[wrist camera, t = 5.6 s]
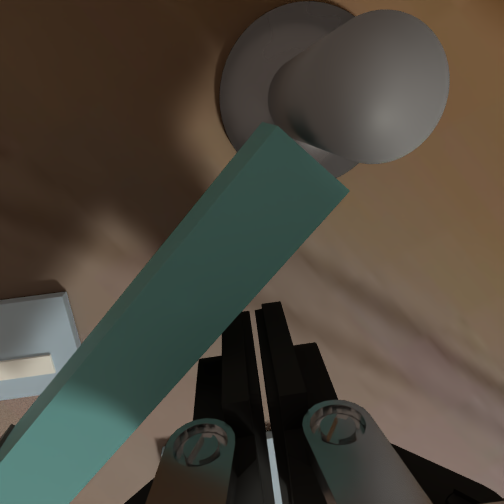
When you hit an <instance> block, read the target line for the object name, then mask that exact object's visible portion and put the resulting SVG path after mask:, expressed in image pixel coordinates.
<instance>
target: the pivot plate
mask: <svg viewBox="0 0 504 504" xmlns="http://www.w3.org/2000/svg"><path fill="white" fill-rule="evenodd" d="M354 17H355V16H353V15H352V14H350V13H349V12H347V11H346V10H343V9H341V8H339V7H337V6H334V5H330V4H327V3H322V2H314V1H303V2H295V3H290V4H286V5H283V6H280V7H277V8H275V9H273V10H271V11H269V12H267V13H265V14H264V15H263V16H261V17H260V18H258V19H257V20H255V21H254V22H253V23H252V24H251V25H250V26H249V27H248V28H247V29H246V30H245V31H244V32H243V34H242V35H241V36H240V37H239V38H238V40H237V42H236V43H235V45H234V46H233V48H232V50H231V52H230V54H229V56H228V58H227V60H226V63H225V67H224V70H223V73H222V78H221V84H220V111H221V116H222V121H223V124H224V127H225V130H226V133H227V135H228V137H229V139H230V142H231V143H232V145H233V147H234V148H235V150H236V151H237V152H238V151H239V150H240V148H241V147H242V146H243V145H244V144H245V142H246V141H247V140H248V139H249V137H250V136H251V135H252V134H253V132H254V131H255V130H256V129H257V128H258V126H259V125H260V124H261V123H262V122H265V123H269V124H273V125H275V123H274V122H273V120H272V118H271V115H270V112H269V107H268V92H269V87H270V84H271V81H272V79H273V77H274V75H275V74H276V73H277V71H278V70H279V69H280V68H281V67H282V66H283V65H284V64H285V63H286V62H288V61H289V60H291V59H292V58H294V57H295V56H297V55H298V54H300V53H301V52H302V51H304V50H305V49H307V48H308V47H310V46H311V45H313V44H314V43H316V42H317V41H319V40H320V39H322V38H323V37H325V36H326V35H328V34H329V33H331V32H332V31H334V30H335V29H337V28H338V27H340V26H341V25H343V24H344V23H346V22H347V21H349V20H350V19H352V18H354ZM293 140H294V141H295V142H296V143H297V144H298V145H300V146H301V147H302V148H303V149H304V150H305V151H306V152H307V153H308V154H309V155H311V156H312V157H313V158H314V159H315V160H316V161H317V162H318V163H319V164H321V165H322V166H323V167H324V168H325V169H326V170H327V171H328V172H329V173H330V174H332V175H333V176H334V177H335V178H337V177H339V176H341V175H343V174H345V173H346V172H348V171H349V170H351V169H352V168H353V167H355V166H356V165H357V164H358V163H359V162H355V161H352V160H349V159H346V158H344V157H341V156H338V155H335V154H333V153H330V152H327V151H325V150H322V149H319V148H317V147H314V146H311V145H308V144H306V143H303V142H300V141H298V140H295V139H293Z"/></svg>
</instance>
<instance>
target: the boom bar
mask: <svg viewBox="0 0 504 504" xmlns="http://www.w3.org/2000/svg"><path fill="white" fill-rule="evenodd" d="M448 92H449V67H448V62H447V58H446V55H445V52H444V49H443V47H442V45H441V43H440V41H439V40H438V38H437V37H436V35H435V34H434V33H433V31H432V30H431V29H430V28H429V27H428V26H427V25H426V24H425V23H423V22H422V21H420V20H419V19H418V18H416V17H414V16H412V15H410V14H407V13H404V12H401V11H396V10H376V11H370V12H367V13H363V14H361V15H358V16H356V17H354V18H352V19H350V20H349V21H347V22H346V23H344V24H343V25H341V26H340V27H338V28H337V29H335V30H334V31H332V32H331V33H329V34H328V35H326V36H325V37H323V38H322V39H320V40H319V41H317V42H316V43H314V44H313V45H311V46H310V47H308V48H307V49H305V50H304V51H302V52H301V53H300V54H298V55H297V56H295V57H294V58H292V59H291V60H289V61H288V62H286V63H285V64H284V65H283V66H282V67H281V68H280V69H279V70H278V71H277V73H276V74H275V75H274V77H273V79H272V81H271V84H270V87H269V92H268V107H269V112H270V115H271V118H272V120H273V122H274V123H275V125H273V124H269V123H265V122H262V123H261V124H260V125H259V126H258V128H257V129H256V130H255V131H254V132H253V134H252V135H251V136H250V137H249V139H248V140H247V141H246V142H245V144H244V145H243V146H242V147H241V148H240V150H239V151H238V152H237V153H236V155H235V156H234V157H233V158H232V160H231V161H230V162H229V163H228V164H227V166H226V167H225V168H224V169H223V171H222V172H221V173H220V174H219V176H218V177H217V178H216V179H215V180H214V182H213V183H212V184H211V185H210V187H209V188H208V189H207V190H206V192H205V193H204V194H203V195H202V196H201V198H200V199H199V200H198V201H197V203H196V204H195V205H194V206H193V208H192V209H191V210H190V211H189V212H188V214H187V215H186V216H185V217H184V219H183V220H182V221H181V222H180V224H179V225H178V226H177V227H176V228H175V230H174V231H173V232H172V233H171V235H170V236H169V237H168V238H167V240H166V241H165V242H164V243H163V244H162V246H161V247H160V248H159V249H158V251H157V252H156V253H155V254H154V256H153V257H152V258H151V259H150V260H149V262H148V263H147V264H146V265H145V267H144V268H143V269H142V270H141V272H140V273H139V274H138V275H137V276H136V278H135V279H134V280H133V281H132V283H131V284H130V285H129V286H128V288H127V289H126V290H125V291H124V292H123V294H122V295H121V296H120V297H119V299H118V300H117V301H116V302H115V304H114V305H113V306H112V307H111V308H110V310H109V311H108V312H107V313H106V315H105V316H104V317H103V318H102V320H101V321H100V322H99V323H98V324H97V326H96V327H95V328H94V329H93V331H92V332H91V333H90V334H89V336H88V337H87V338H86V339H85V340H84V342H83V343H82V344H81V345H80V347H79V348H78V349H77V350H76V352H75V353H74V354H73V355H72V356H71V358H70V359H69V360H68V361H67V363H66V364H65V365H64V366H63V368H62V369H61V370H60V371H59V372H58V374H57V375H56V376H55V377H54V379H53V380H52V381H51V382H50V384H49V385H48V386H47V387H46V388H45V390H44V391H43V392H42V393H41V395H40V396H39V397H38V398H37V400H36V401H35V402H34V403H33V404H32V406H31V407H30V408H29V409H28V411H27V412H26V413H25V414H24V416H23V417H22V418H21V419H20V420H19V422H18V423H17V424H16V425H13V424H11V425H10V427H9V428H8V429H7V430H6V432H5V433H4V434H3V435H2V436H1V438H0V504H69V503H70V502H71V501H72V500H73V499H74V498H75V496H76V495H77V494H78V493H79V492H80V491H81V490H82V489H83V488H84V486H85V485H86V484H87V483H88V482H89V481H90V480H91V479H92V478H93V476H94V475H95V474H96V473H97V472H98V471H99V470H100V469H101V468H102V466H103V465H104V464H105V463H106V462H107V461H108V460H109V459H110V457H111V456H112V455H113V454H114V453H115V452H116V451H117V450H118V449H119V447H120V446H121V445H122V444H123V443H124V442H125V441H126V440H127V439H128V437H129V436H130V435H131V434H132V433H133V432H134V431H135V430H136V429H137V427H138V426H139V425H140V424H141V423H142V422H143V421H144V420H145V419H146V417H147V416H148V415H149V414H150V413H151V412H152V411H153V410H154V408H155V407H156V406H157V405H158V404H159V403H160V402H161V401H162V400H163V398H164V397H165V396H166V395H167V394H168V393H169V392H170V391H171V390H172V388H173V387H174V386H175V385H176V384H177V383H178V382H179V381H180V380H181V378H182V377H183V376H184V375H185V374H186V373H187V372H188V371H189V369H190V368H191V367H192V366H193V365H194V364H195V363H196V362H197V361H198V359H199V358H200V357H201V356H202V355H203V354H204V353H205V352H206V351H207V349H208V348H209V347H210V346H211V345H212V344H213V343H214V342H215V341H216V339H217V338H218V337H219V336H220V335H221V334H222V333H223V332H224V331H225V329H226V328H227V327H228V326H229V325H230V324H231V323H232V322H233V320H234V319H235V318H236V317H237V316H238V315H239V314H240V313H241V312H242V310H243V309H244V308H245V307H246V306H247V305H248V304H249V303H250V302H251V300H252V299H253V298H254V297H255V296H256V295H257V294H258V293H259V292H260V290H261V289H262V288H263V287H264V286H265V285H266V284H267V283H268V282H269V280H270V279H271V278H272V277H273V276H274V275H275V274H276V273H277V271H278V270H279V269H280V268H281V267H282V266H283V265H284V264H285V263H286V261H287V260H288V259H289V258H290V257H291V256H292V255H293V254H294V253H295V251H296V250H297V249H298V248H299V247H300V246H301V245H302V244H303V243H304V241H305V240H306V239H307V238H308V237H309V236H310V235H311V234H312V233H313V231H314V230H315V229H316V228H317V227H318V226H319V225H320V224H321V222H322V221H323V220H324V219H325V218H326V217H327V216H328V215H329V214H330V212H331V211H332V210H333V209H334V208H335V207H336V206H337V205H338V204H339V202H340V201H341V200H342V199H343V198H344V197H345V196H346V195H347V194H348V192H349V190H348V189H347V188H346V187H345V186H344V185H343V184H342V183H340V182H339V181H338V180H337V179H336V178H335V177H334V176H333V175H332V174H330V173H329V172H328V171H327V170H326V169H325V168H324V167H323V166H322V165H321V164H319V163H318V162H317V161H316V160H315V159H314V158H313V157H312V156H311V155H309V154H308V153H307V152H306V151H305V150H304V149H303V148H302V147H301V146H300V145H298V144H297V143H296V142H295V141H294V140H293V139H295V140H298V141H300V142H303V143H306V144H308V145H311V146H314V147H317V148H319V149H322V150H325V151H327V152H330V153H333V154H335V155H338V156H341V157H344V158H346V159H349V160H352V161H355V162H359V163H365V164H380V163H386V162H390V161H393V160H396V159H399V158H401V157H403V156H405V155H407V154H408V153H410V152H412V151H413V150H414V149H416V148H417V147H418V146H420V145H421V144H422V143H423V142H424V141H425V140H426V139H427V137H428V136H429V135H430V134H431V133H432V131H433V130H434V128H435V127H436V125H437V124H438V122H439V120H440V118H441V116H442V114H443V111H444V108H445V105H446V102H447V97H448Z"/></svg>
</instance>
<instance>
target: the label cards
mask: <svg viewBox="0 0 504 504" xmlns="http://www.w3.org/2000/svg"><path fill="white" fill-rule="evenodd" d="M80 345H81V343H80V339H79V336H78V332H77V328H76V325H75V321H74V317H73V314H72V310H71V307H70V303H69V299H68V296H67V292H58V293H50V294H43V295H35V296H28V297H20V298H12V299H5V300H0V400H7V399H15V398H22V397H29V396H36V395H41V393H42V392H43V391H44V390H45V388H46V387H47V386H48V385H49V384H50V382H51V381H52V380H53V379H54V377H55V376H56V375H57V374H58V372H59V371H60V370H61V369H62V368H63V366H64V365H65V364H66V363H67V361H68V360H69V359H70V358H71V356H72V355H73V354H74V353H75V352H76V350H77V349H78V348H79V347H80ZM266 437H267V445H268V452H269V460H270V468H271V476H272V483H273V491H274V499H275V504H282V498H281V492H280V485H279V478H278V471H277V465H276V458H275V451H274V444H273V438H272V431H267V432H266ZM164 449H165V447H162V453H161V456H162V455H163V452H164Z"/></svg>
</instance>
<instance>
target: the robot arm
mask: <svg viewBox="0 0 504 504" xmlns="http://www.w3.org/2000/svg"><path fill="white" fill-rule="evenodd" d="M255 315H256V323H257V330H258V338H259V345H260V353H261V360H262V367H263V375H264V382H265V390H266V397H267V404H268V410H269V417H270V424H271V431H272V438H273V444H274V451H275V458H276V465H277V471H278V478H279V485H280V492H281V498H282V504H504V498H502V497H500V496H499V495H498V494H497V493H496V492H494V491H492V490H491V489H489V488H487V487H485V486H484V485H482V484H480V483H477V482H475V481H473V480H471V479H469V478H466V477H464V476H462V475H460V474H458V473H455V472H453V471H451V470H449V469H446V468H444V467H442V466H440V465H438V464H435V463H433V462H431V461H429V460H427V459H424V458H422V457H420V456H418V455H416V454H413V453H411V452H409V451H407V450H405V449H402V448H400V447H398V446H396V445H394V444H391V443H390V442H389V441H388V439H387V438H386V437H385V435H384V434H383V432H382V431H381V430H380V428H379V427H378V425H377V424H376V422H375V421H374V420H373V418H372V417H371V415H370V414H369V413H368V412H367V411H366V410H365V409H364V408H362V407H361V406H359V405H357V404H355V403H352V402H349V401H345V400H338V398H337V395H336V393H335V390H334V387H333V385H332V382H331V380H330V377H329V374H328V372H327V369H326V367H325V364H324V362H323V359H322V356H321V354H320V351H319V349H318V346H317V344H316V343H315V342H314V343H307V344H300V345H293V343H292V340H291V336H290V333H289V329H288V326H287V322H286V319H285V315H284V312H283V308H282V305H281V302H280V301H279V302H272V303H265V304H262V309H259V310H255ZM124 504H275V499H274V491H273V483H272V476H271V468H270V460H269V452H268V445H267V437H266V429H265V422H264V414H263V406H262V399H261V391H260V384H259V377H258V370H257V363H256V355H255V348H254V341H253V334H252V327H251V320H250V313H249V311H244V312H241V313H240V314H239V315H238V316H237V317H236V318H235V319H234V320H233V322H232V323H231V324H230V325H229V326H228V327H227V328H226V329H225V331H224V332H223V333H222V356H216V357H209V358H202V359H199V362H198V373H197V383H196V394H195V405H194V416H193V421H192V422H189V423H187V424H185V425H183V426H182V427H180V428H179V429H177V430H176V431H175V432H174V433H173V434H172V435H171V437H170V438H169V440H168V442H167V444H166V446H165V449H164V452H163V455H162V458H161V460H160V463H159V466H158V469H157V472H156V475H155V478H153V479H152V480H151V481H150V482H149V483H148V484H146V485H145V486H144V487H143V488H142V489H141V490H139V491H138V492H137V493H136V494H135V495H134V496H132V497H131V498H130V499H129V500H128V501H127V502H125V503H124Z"/></svg>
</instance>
